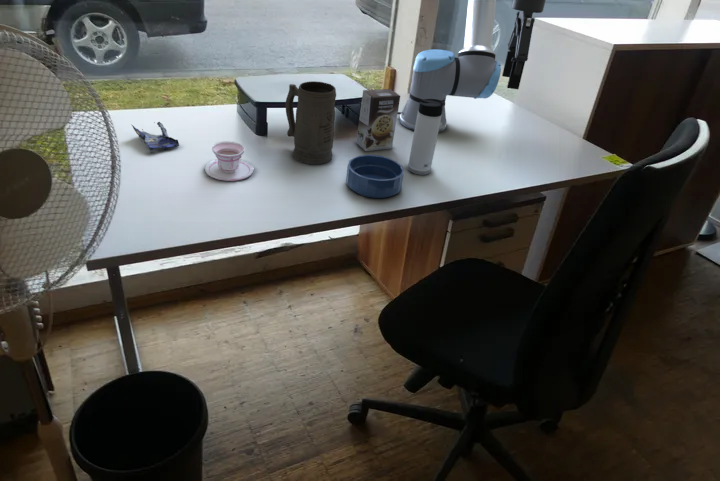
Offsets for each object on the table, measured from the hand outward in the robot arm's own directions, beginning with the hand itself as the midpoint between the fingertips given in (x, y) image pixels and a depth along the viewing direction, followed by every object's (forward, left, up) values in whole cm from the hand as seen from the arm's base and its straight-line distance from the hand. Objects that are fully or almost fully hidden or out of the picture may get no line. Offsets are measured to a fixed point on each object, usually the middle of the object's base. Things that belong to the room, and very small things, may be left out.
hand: (509, 82), depth 145 cm
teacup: (-40, -58, -26) cm, 75 cm away
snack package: (-63, -65, -26) cm, 94 cm away
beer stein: (-37, -35, -26) cm, 58 cm away
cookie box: (-30, -14, -26) cm, 42 cm away
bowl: (-13, -33, -26) cm, 44 cm away
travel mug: (-12, -15, -26) cm, 33 cm away
